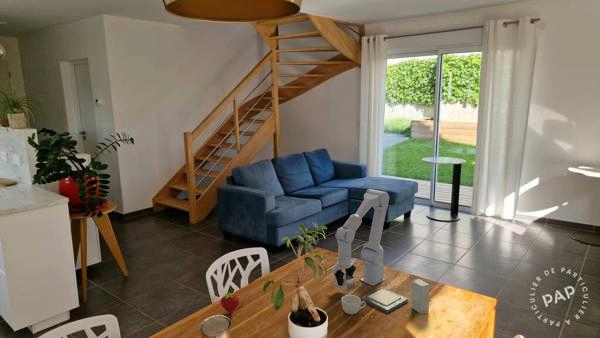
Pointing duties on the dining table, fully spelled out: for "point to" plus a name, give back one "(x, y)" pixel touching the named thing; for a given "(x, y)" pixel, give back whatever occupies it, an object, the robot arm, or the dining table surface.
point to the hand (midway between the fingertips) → (344, 283)
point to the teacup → (351, 304)
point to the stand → (384, 299)
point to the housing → (346, 282)
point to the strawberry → (229, 302)
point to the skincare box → (420, 296)
